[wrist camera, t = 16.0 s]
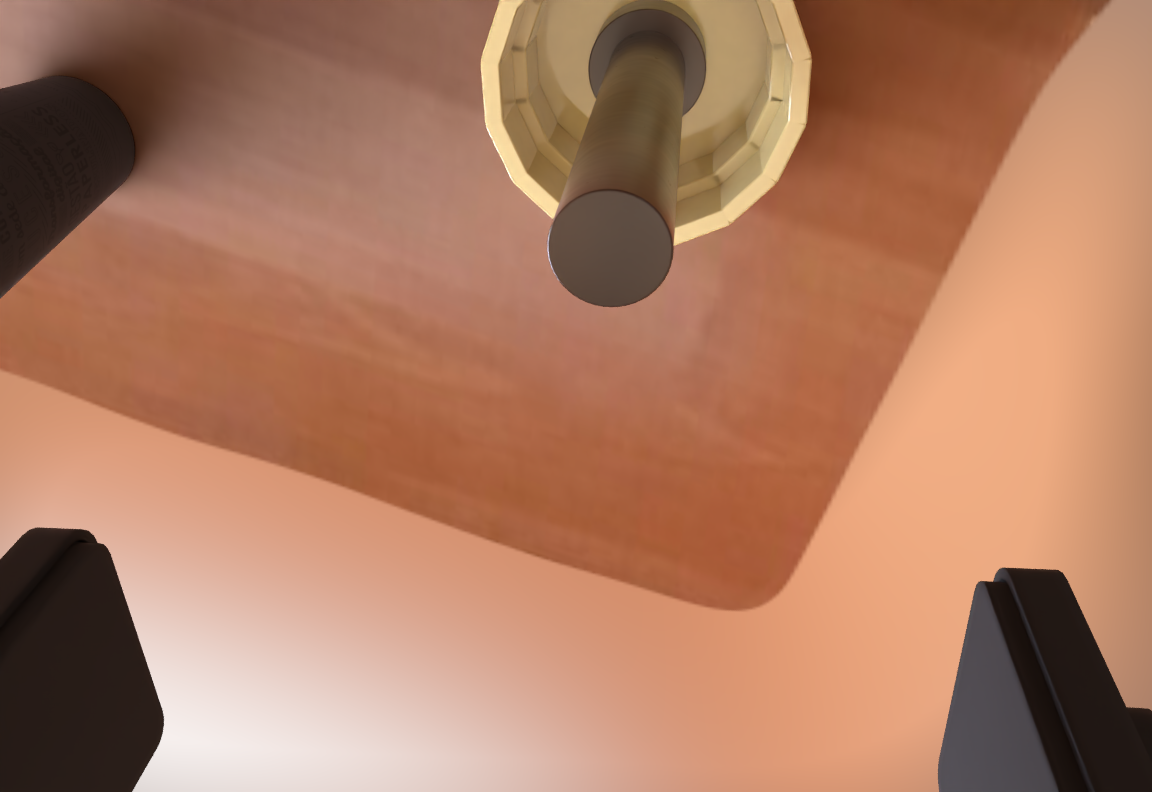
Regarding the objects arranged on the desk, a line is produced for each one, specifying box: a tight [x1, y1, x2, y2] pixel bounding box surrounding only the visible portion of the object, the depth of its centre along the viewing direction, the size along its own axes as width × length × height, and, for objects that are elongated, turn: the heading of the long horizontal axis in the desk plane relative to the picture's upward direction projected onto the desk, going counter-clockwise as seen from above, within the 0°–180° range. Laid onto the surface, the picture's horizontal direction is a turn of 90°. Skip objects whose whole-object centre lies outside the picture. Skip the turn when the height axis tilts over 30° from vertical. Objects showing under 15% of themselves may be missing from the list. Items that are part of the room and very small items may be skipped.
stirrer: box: [547, 0, 706, 307], centre depth 29 cm, size 4×4×18 cm
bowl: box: [481, 0, 812, 246], centre depth 35 cm, size 10×10×6 cm
